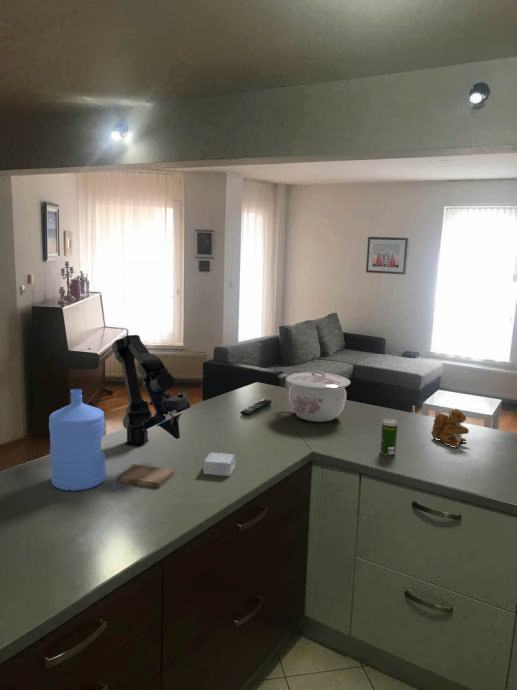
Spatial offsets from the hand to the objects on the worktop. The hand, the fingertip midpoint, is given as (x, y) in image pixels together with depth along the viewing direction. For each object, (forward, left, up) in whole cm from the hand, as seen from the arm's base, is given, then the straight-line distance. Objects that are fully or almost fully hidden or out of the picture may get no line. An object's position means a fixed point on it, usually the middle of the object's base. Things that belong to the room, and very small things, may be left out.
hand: (178, 438), depth 172 cm
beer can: (+66, +32, -9) cm, 74 cm away
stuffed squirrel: (+88, +53, -9) cm, 103 cm away
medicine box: (+11, -2, -6) cm, 12 cm away
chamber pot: (+35, +65, -9) cm, 75 cm away
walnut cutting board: (-5, -14, -8) cm, 17 cm away
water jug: (-23, -22, -9) cm, 33 cm away
